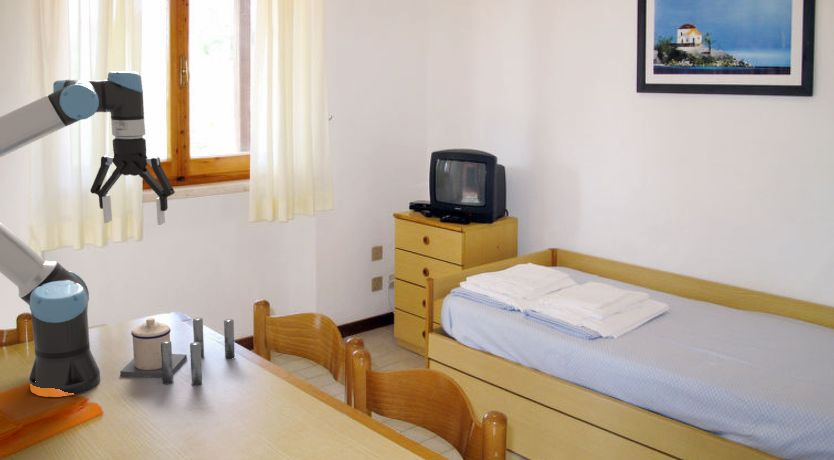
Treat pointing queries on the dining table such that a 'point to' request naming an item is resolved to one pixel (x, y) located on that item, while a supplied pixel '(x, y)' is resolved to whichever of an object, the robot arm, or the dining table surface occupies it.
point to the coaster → (135, 372)
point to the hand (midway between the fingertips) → (134, 222)
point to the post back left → (198, 333)
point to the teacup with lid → (149, 344)
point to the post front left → (166, 362)
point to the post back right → (229, 338)
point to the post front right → (196, 363)
